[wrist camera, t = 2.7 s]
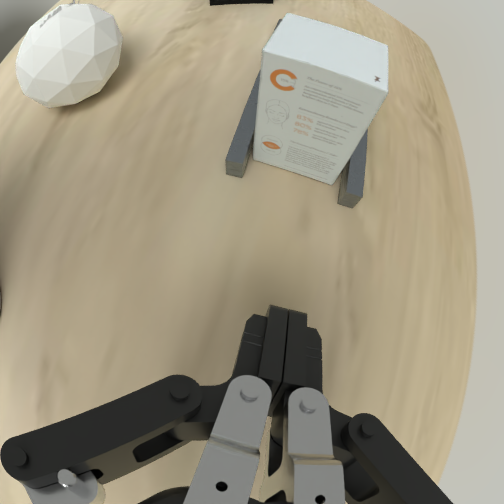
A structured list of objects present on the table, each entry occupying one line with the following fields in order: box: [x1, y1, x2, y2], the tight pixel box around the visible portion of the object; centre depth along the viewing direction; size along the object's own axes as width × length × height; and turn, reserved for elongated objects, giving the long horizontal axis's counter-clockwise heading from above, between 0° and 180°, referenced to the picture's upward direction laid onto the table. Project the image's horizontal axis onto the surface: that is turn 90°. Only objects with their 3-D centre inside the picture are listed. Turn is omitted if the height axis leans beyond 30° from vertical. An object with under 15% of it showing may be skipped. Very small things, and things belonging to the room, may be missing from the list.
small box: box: [253, 13, 388, 185], centre depth 22 cm, size 8×6×13 cm
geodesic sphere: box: [16, 0, 123, 108], centre depth 23 cm, size 14×14×14 cm
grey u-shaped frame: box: [226, 69, 368, 208], centre depth 28 cm, size 12×18×2 cm, turn 166°
